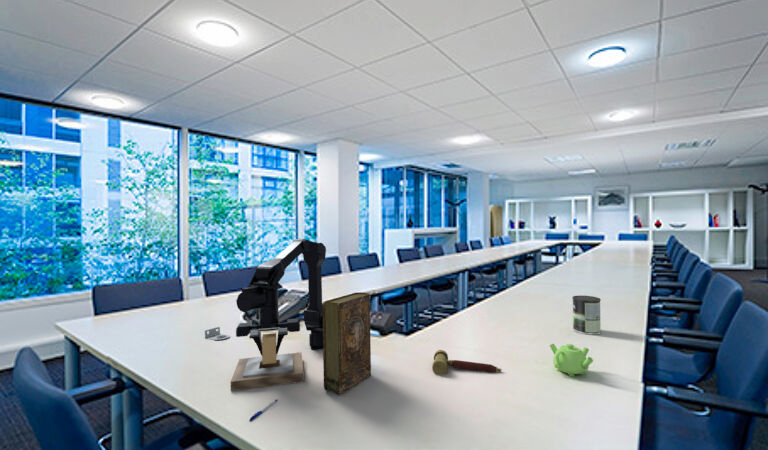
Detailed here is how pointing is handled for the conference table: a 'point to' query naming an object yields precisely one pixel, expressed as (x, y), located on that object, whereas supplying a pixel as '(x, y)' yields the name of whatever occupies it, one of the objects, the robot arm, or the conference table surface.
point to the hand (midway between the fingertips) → (269, 354)
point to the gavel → (458, 364)
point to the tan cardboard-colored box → (269, 348)
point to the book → (346, 342)
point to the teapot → (571, 359)
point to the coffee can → (586, 315)
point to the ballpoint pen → (261, 411)
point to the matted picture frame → (267, 372)
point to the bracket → (214, 332)
